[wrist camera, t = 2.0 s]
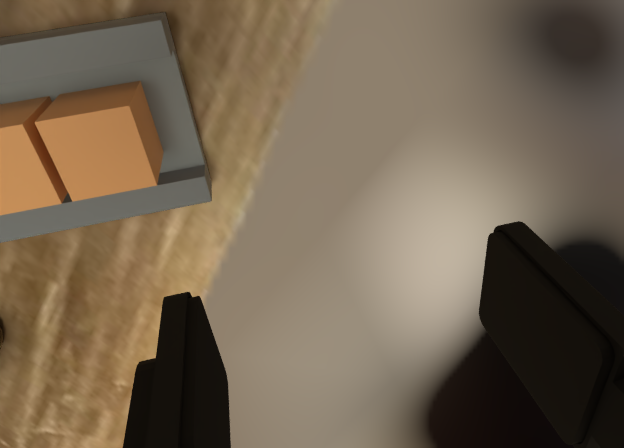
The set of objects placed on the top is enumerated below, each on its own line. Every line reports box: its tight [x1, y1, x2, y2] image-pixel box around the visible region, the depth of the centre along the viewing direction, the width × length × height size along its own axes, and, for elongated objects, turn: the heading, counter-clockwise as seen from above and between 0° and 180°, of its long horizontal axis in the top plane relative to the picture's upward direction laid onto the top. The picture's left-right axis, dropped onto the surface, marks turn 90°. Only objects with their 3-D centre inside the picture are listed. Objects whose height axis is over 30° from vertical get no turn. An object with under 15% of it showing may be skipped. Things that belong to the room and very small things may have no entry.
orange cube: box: [34, 81, 164, 202], centre depth 22 cm, size 4×4×4 cm
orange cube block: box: [0, 96, 68, 215], centre depth 22 cm, size 4×4×4 cm
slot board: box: [0, 12, 212, 243], centre depth 24 cm, size 10×13×2 cm
